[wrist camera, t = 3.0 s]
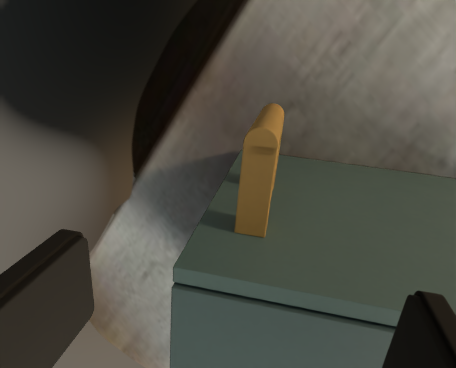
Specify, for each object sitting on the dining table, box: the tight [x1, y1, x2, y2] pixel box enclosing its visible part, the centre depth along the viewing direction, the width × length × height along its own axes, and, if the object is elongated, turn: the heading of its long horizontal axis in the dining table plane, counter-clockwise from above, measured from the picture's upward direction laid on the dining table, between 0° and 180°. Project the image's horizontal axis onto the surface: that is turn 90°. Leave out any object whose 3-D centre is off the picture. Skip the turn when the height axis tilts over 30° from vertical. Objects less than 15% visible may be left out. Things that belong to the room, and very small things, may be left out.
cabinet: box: [170, 282, 396, 368], centre depth 30 cm, size 18×26×24 cm
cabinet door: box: [173, 103, 456, 326], centre depth 25 cm, size 8×26×24 cm, turn 85°
